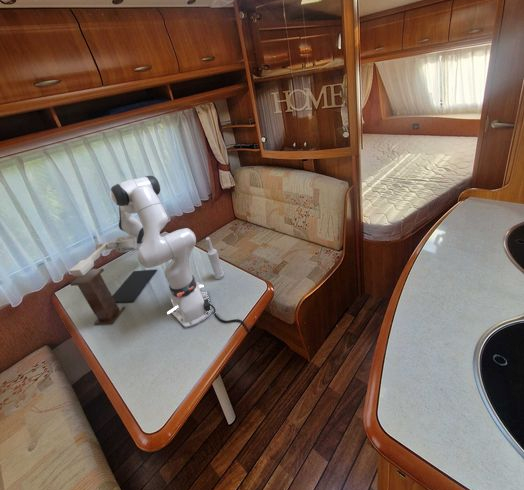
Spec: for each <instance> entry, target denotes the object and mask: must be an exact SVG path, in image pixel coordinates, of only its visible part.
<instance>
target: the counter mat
mask: <svg viewBox="0 0 524 490" xmlns="http://www.w3.org/2000/svg"><path fill="white" fill-rule="evenodd" d="M156 272H157V269H145V270H143V269H142V270H133V271H132V273H131V274H130V275H128V277H127V278H126V279H125V280H124V282H123V283H122V284H121V285H120V286H119V287H118V288H117V290H116V291H115V292H114V294H113V295H112V297H113V299H114V300H115V302H116V304H124V303H134V302H135V300H136V299H137V298H138V296H139V295H140V294H141V292H143V290H144V289H145V287H146V286H147V284H148V283H149V282H150V280H151V279H152V278H153V277H154V275H155V274H156Z"/></svg>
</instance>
